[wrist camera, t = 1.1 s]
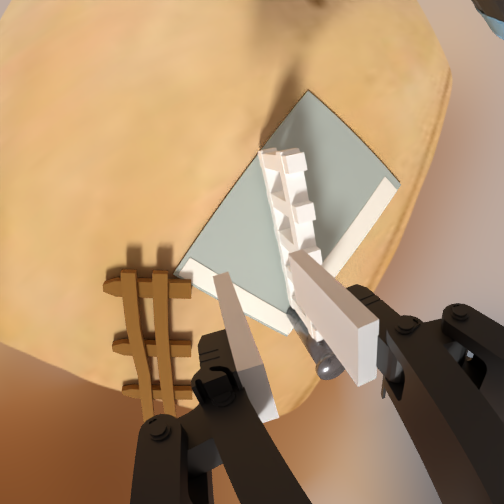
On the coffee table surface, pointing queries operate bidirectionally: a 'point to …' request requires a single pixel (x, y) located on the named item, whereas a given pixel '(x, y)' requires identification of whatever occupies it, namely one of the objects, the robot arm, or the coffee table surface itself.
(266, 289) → the board
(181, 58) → the coffee table surface
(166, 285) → the decorative fence
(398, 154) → the coffee table surface
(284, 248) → the fence panel
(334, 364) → the corner post
